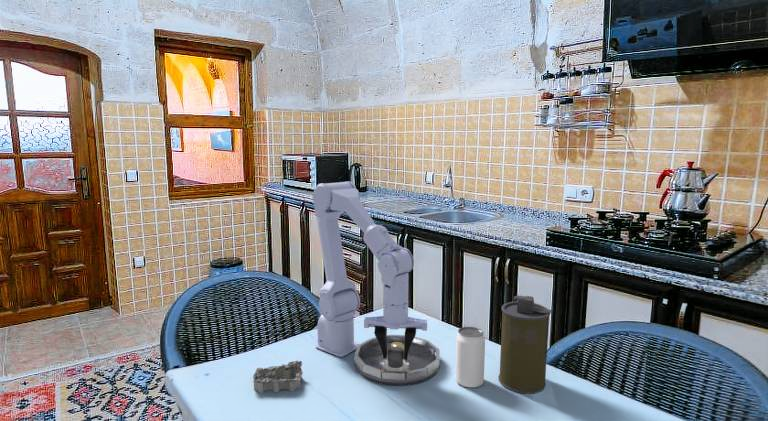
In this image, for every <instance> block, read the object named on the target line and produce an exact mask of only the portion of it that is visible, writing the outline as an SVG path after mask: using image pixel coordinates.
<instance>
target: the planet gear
mask: <svg viewBox="0 0 768 421" xmlns="http://www.w3.org/2000/svg"><path fill="white" fill-rule="evenodd" d="M408 369H409V363H406V362H405V360H404V359H403V349H402V348H400V347H391V348H389V349H388V360H385V361H384V364H382V370H385V371H396V372H408Z"/></svg>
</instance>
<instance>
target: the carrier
mask: <svg viewBox="0 0 768 421" xmlns="http://www.w3.org/2000/svg"><path fill="white" fill-rule="evenodd" d="M359 344H360V345H358V347H357V349H356V350H355V352H354V354H353V355H354V356H353V357H354V360H353V361H354V363H355V368H356V371H357V372H358V373H359V374H360V375H361V376H362V377H363V378H364V379H366V380H368V381H371V382H373V383H376V384H381V385H387V386H394V387H395V386H396V387H397V386H398V387H401V386H412V385H418V384H420V383H424V382H426V381H428V380H430V379H432V378H434V377H435V376H436V374H437V373H438V372H439V370H440V366H441V365H440V360H441V358H440V356H441V354H440V351H441V350H440V348H439V347H437V346H436V345H434V344H433V343H432V342H431V341H430V340H428V339H424V338H421V337H418V336H415V337H414V339H413V341H412V343H411V346H410V348H409V352H408V357H407V360H405V362H406V363H409V369H408V372H396V371H385V370H382V364H384V361H385V360H388V349H389V348H391V347H400V348H402V349H403V359H404V352H405V334H387V357H386V359H383V354H382V350H381V347H380V344H379V342H378V340H377V338H376V336H375V337H370V338H369V339H367V340H365V341H363V342H362V343H359Z"/></svg>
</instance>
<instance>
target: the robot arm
mask: <svg viewBox="0 0 768 421" xmlns="http://www.w3.org/2000/svg"><path fill="white" fill-rule="evenodd" d="M311 196H312V202H313V207H314V208H313V209H314V215H315V217H316V223H317V227H318V236H319V241H320V247H321V253H322V260H323V266H324V267H323V268H324V273H325V279H326V281H325V283H324V285H323V286H322V287H321V288H320V289H319V291H318V293H319V302H318V308H319V312H320V313H321V315H320V316H319V318H318V321H317V328H316V329H317V344H316V345H315V348H316V349H318V350H321V351H323V352H326V353H329V354H332V355H334V356H337V357H340V358H343V357H345V356H347V355H349V354H350V353H352V352H354V351H356V349H357V347H358V345H360V344H361V343H357V342H355V318H354V316H356V315H357V310H359V308H360V306H361V297H360V294H359V293H358V290H357V287H356V283H355V282H353V281H352V280H350V279H349V278H348V275H347V268H346V264H345V257H344V252H343V251H344V250H343V245H342V244H343V243H342V239H341V232H340V225H339V218H340V217H341V215H342V214H343V213H346V214H347V215H348V216H349V218H350V219H351V220H352V221H353V222H354V224H355V225H356V226H357V227H358V228H359V230H361V231H362V232H363V238H362V239H363V242H364V243H365V244H366V246H367V247H368V249H369V250H370V251H371V253H372V254H373V256H374V257H375V258H376V259H377V261H378V262H377V269H378V271H379V273H380V276H381V277H380V278H381V283H382V284H383V287H382V288H383V297H382V298H383V304H382V305H383V308H382V310H383V312H382V313H383V315H379V316H365V317H364V319H363V328H364V329H369V328H374V332H373V333H374V336H375V337H376V338H377V340H378V342H379V344H380V347H381V350H382V354H383V359H386V357H387V335H388V329H389V330H399V329H405V330H404V335H405V352H404V360H407V357H408V352H409V348H410V346H411V343H412V341H413V339H414V337H416V335H417V330H422V331H425V332H427V331H428V319H423V318H422V319H421V318H417V317H416V318H415V317H411V316H409V272H412V270H413V268H414V265H415V260H414V256H413V254H412V252H411V250H410V249H408V248H406V247H402V246H401V245H399V244H398V243H397V242H396V241H395V239H394V238H393V237H392V236H391V235H390V233H389V232H388V229H387V228H386V227H385V226H383V225H382V224H376V223H375V221H374V220H373V218H372V217H371V215H370V214H369V212H368V211H367V209H366V207H365V206H364V205H363V203H362V201H361V200H360V198H359V197H360V192H359V190H358V189H357V188H356V186H355V184H354V183H353V182H351V181H349V180H348V181H347V180H346V181H340V182H329V183H322V182H321V183H318V184H317V185H316V187H315V188H314V190H313V192H312V194H311Z"/></svg>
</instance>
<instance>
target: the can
mask: <svg viewBox="0 0 768 421" xmlns="http://www.w3.org/2000/svg"><path fill="white" fill-rule="evenodd" d="M457 332H458V333H457V335H455V336H456V337H455V361H454V363H455V365H454V366H455V367H454V368H455V369H454V375H455V376H454V377H455V378H454V379H455V381H456V383H457V384H458V385H459V386H461V387H464V388H466V389H467V388H469V389H474V388H476V389H477V388H479V387H481V386H482V385H483V384H484V381H485V361H486V360H485V357H486V356H485V355H486V353H485V352H486V338H485V336H484V331H483V329H481V328H478V327H476V326H475V327H474V326H462V327H460V328H459V329H458V330H457Z"/></svg>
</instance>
